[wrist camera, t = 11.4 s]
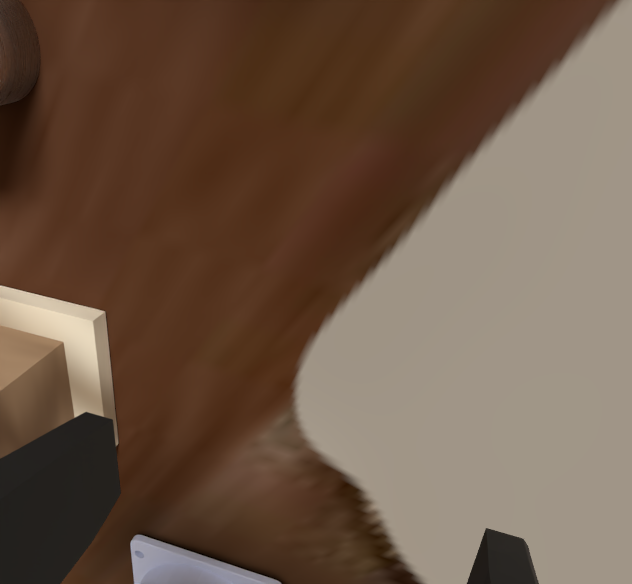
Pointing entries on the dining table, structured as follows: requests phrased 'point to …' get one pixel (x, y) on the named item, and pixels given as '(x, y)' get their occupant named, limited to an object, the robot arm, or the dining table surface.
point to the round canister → (17, 52)
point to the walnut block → (31, 388)
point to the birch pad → (69, 345)
